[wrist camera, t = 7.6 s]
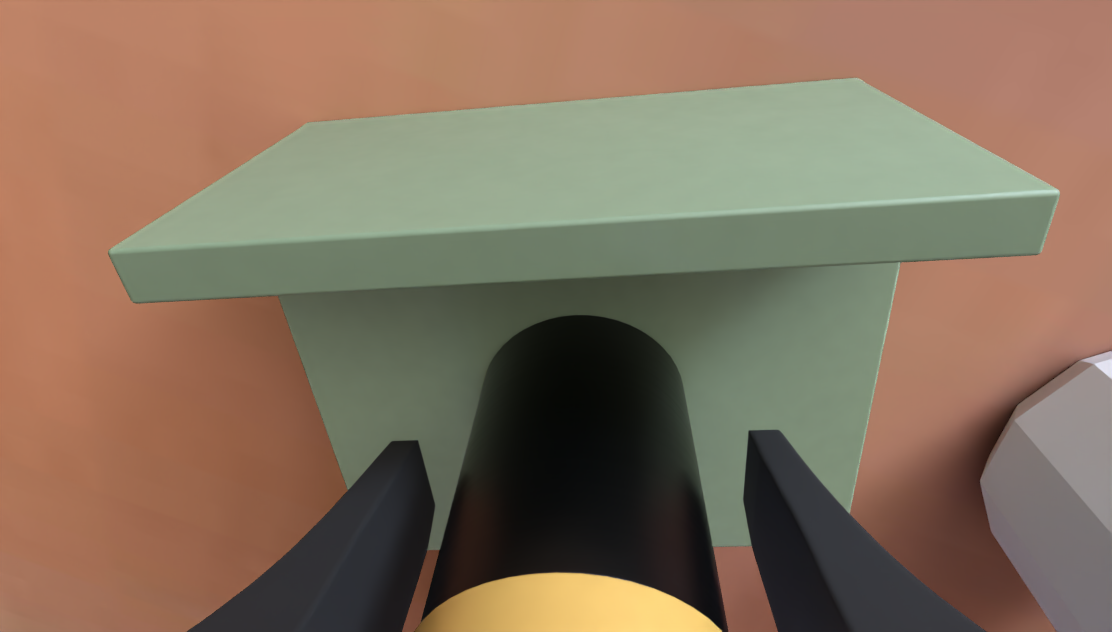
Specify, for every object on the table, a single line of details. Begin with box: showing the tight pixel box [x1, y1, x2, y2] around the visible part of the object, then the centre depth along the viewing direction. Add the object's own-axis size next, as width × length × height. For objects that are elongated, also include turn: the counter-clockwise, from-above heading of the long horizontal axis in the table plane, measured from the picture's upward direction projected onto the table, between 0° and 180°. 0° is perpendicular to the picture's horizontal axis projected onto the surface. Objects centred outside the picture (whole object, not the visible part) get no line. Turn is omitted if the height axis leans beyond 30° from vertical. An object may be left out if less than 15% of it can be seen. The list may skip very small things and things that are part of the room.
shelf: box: [108, 78, 1060, 550], centre depth 16 cm, size 12×14×8 cm
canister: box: [414, 315, 728, 632], centre depth 12 cm, size 5×5×8 cm
